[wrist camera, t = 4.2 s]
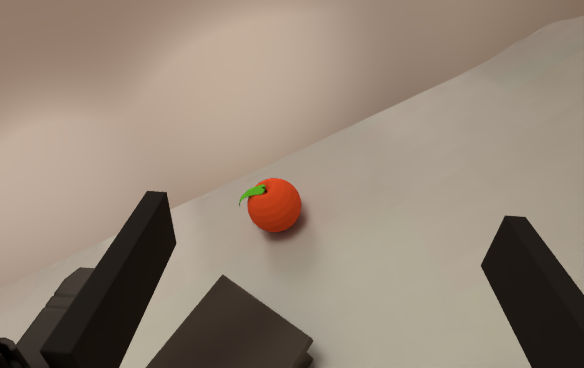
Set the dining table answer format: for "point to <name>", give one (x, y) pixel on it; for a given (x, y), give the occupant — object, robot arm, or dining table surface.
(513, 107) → the dining table surface
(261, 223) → the clementine
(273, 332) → the stand
